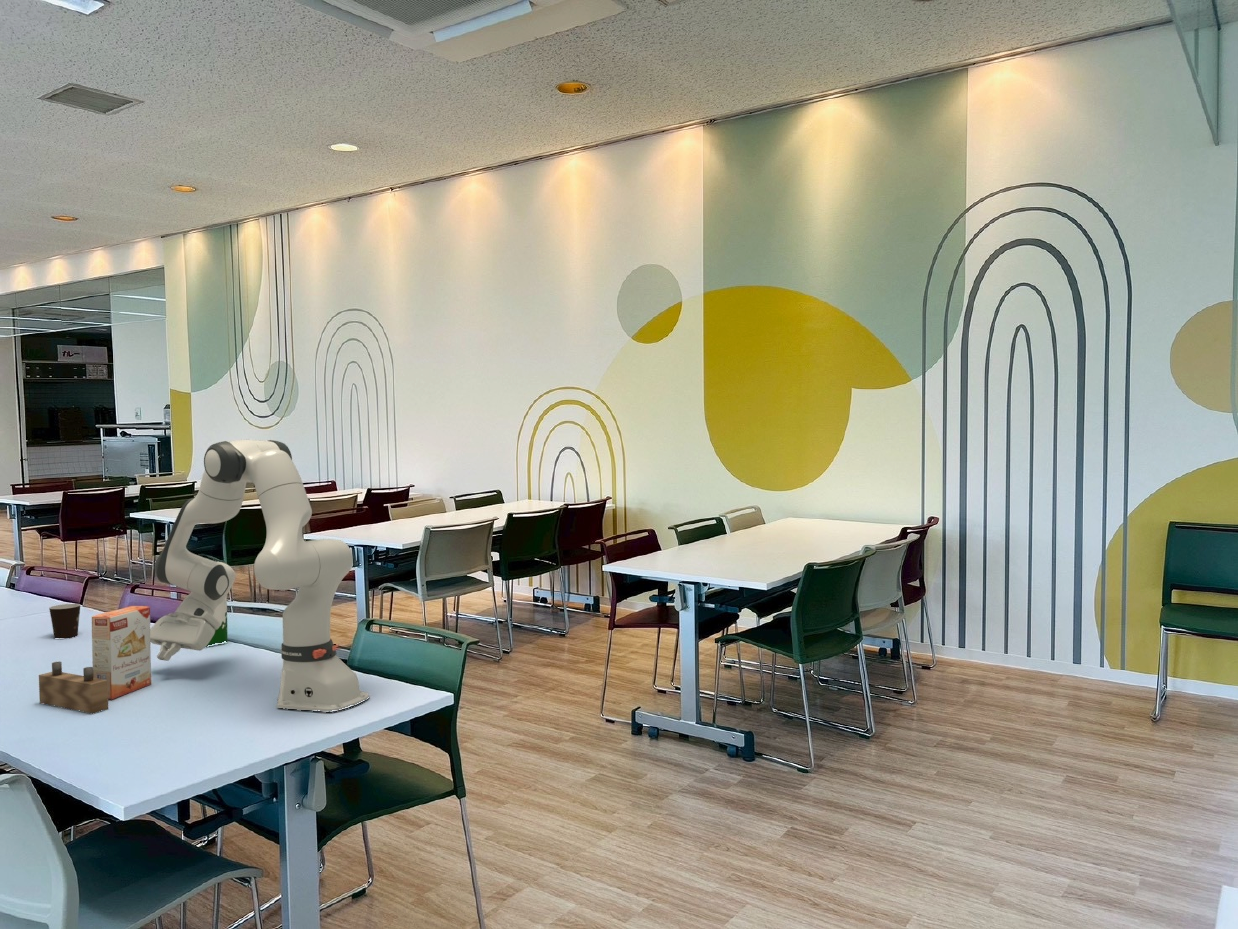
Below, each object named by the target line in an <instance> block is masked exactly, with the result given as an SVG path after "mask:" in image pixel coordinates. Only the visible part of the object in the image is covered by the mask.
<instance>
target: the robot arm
mask: <svg viewBox="0 0 1238 929" xmlns="http://www.w3.org/2000/svg"><path fill="white" fill-rule="evenodd" d="M203 467H204V471H203V474H202V477H201V480H200V484H199V490H198V493H197V494H196V495H195V497H192V498H189V499H187V500H186V501H185V503H184V504H182V506H181V508H180V510H179V511H178V515H177V516H176V519H175V521H174V523H173V526H172V527H171V530H170V532H169V535H168V537H167V540H166V542H165V545H164V547H163V549H162V550H161V552H160V553H159V555H158V557H157V559H156V562H155V563H154V572H155V575H156V578H157V579H158V581H159V582H160V583H163V584H167V585H171V586H175V587H178V588H180V589H183V590H185V591H188V592H190V593H189V594H187V595H186V596H185V598H183V600H182V602H181V603H180V604H179V606H177V608H176V610H175V611H174V613H173V612H169V613H168V614H166V615H163V616H161V617H160V618H159V619H158V620H156V622H155V623H154V624H153V626H151V627H150V644H151V643H152V644H153V645H158V646H160V649H159V653H158V654H157V655H156V658H157V659H158V660H160V661H164V662H166V661H167V662H169V661H170V659H171V658H172V657H173V656H175V654H177V653H178V652H180V650H182V649H186V650H193V651H199V652H200V651H202V650H203V649H205V647H206V646H207V645H208V643H209V642H210V640H211V639H212V637H213V636H214V634H215V630H217V629H218V628H219V627H220V625H221V623H220V622H219V621H218V620H217V619H216V618H215V617H214V616H213V615H214V613H215V610H216V608H217V606H218V605H219V604H221V603H222V602H223V600H224V599H225V597H226V596H227V597H228V594H229V592H230V590H231V589H232V587H233V585H234V582H235V580H236V576H237V574H236V572H235V571H234V569H233V568H232V567H231V565H229V564H227V563H225V562H222V561H215V560H212V559H210V558H207V557H203V556H200V555H197V554H195V553H193V552H191V551H189V550H188V548H187V544H188V542H189V539H190V537H191V536H192V532H193V530H194V527H195V526H196V525H197V524H199V525H200V524H209V525H210V524H211V525H212V524H220V523H224V522H227V521H229V520H231V519H233V518H235V517H236V516H237V515H238V514H239V513H240V510H241V509H242V505H243V501H244V498H245V493H246V488H247V487H246V486H247V483H249V484H250V483H251V484H253V486H254V487H255V490H256V491H255V492H256V495H257V498H258V500H259V502H258V503H259V505H260V508H261V511H262V514H263V520H264V522H265V527H266V528H265V529H266V538H265V543H264V545H263V548H262V550H261V551H259V553H258V554H257V557H256V558H255V560H254V563H253V565H254V566H253V572H254V573H253V574H254V575H255V576H254V577H255V579H256V581H257V582H258V583H259V585H260V586H261V587H263V589H267V590H271V591H272V590H273V591H275V590H277V591H288V590H292V589H298V590H297V592H296V593H297V594H296V595H295V597H294V599H293V600H292V601H291V602H290V603H289V604H288V605H287V606H286V607H285V608H284V611H283V613H282V643H281V647H280V648H281V649H280V652H281V653H280V654H281V657H280V658H281V659H282V662H283V663H282V669H281V673H280V674H281V675H280V687H279V693H278V697H277V699H276V700H277V701H278V702H277V701H276V702H277V706H276V709H278V708H283V709H282V710H288V709H297V710H296V711H301V710H317V711H318V710H320V711H332V710H339V709H342V708H345V707H348V706H350V705H355V704H357V703H359V702H361V701H363V700H366V699H367V698H368V697H369V698H370V694H369V693H368V692H364V691H361V690H360V685H359V678H358V676H357V674H356V672H354V671H353V669H351V668H350V667H349V666H348V665H346V663H344V662H343V661H342V659H341V658H340V657H338V656H337V650H340V644H337V645H334V642H333V639H332V638H331V616H332V614H331V613H332V612H331V611H332V606H333V601H334V598H335V595H336V592H337V589H338V588H339V586H340V584H341V583H342V580H343V579H344V578H345V577H346V576H347V575H348V574H349V572H350V571H351V569H352V566H353V554H352V550H351V548H350V547H349V545H348V544H347V543H346V542H344V541H343V540H340V539H333V538H320V539H313V540H306V541H305V540H304V537H303V528H304V527H305V526H306V525H307V524H308V523H309V521H310V519H311V517H312V514H313V510H312V506H311V504H310V501H309V498H308V495H307V490H306V489H305V486H304V483H303V480H302V477H301V475H300V473H299V471H298V469H297V467H296V465H295V463H294V460H293V455H292V453H291V450H290V448H289V446H288V445H286V443H284V442H282V441H279V440H274V439H273V440H272V439H270V440H268V439H267V440H263V439H262V440H261V439H260V440H259V439H258V440H257V439H237V440H231V441H227V440H224V441H219V442H216V443H215V442H214V443H212V444H211V445H209V446H208V447H207V449H206V452H205V453H204V457H203ZM285 708H287V709H285Z"/></svg>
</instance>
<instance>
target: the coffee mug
mask: <svg viewBox="0 0 1238 929" xmlns="http://www.w3.org/2000/svg"><path fill="white" fill-rule="evenodd" d="M80 613H81V604H80V603H64V604H63V603H62V604H56V605H52V606H49V615H50V619H51V626H52V632H53V638H54V639H55V638H69V639H73V638H72V637H74V638H76V637H75V636H77V635H78V634H79V633H78V632H79V624H80ZM77 637H78V636H77Z"/></svg>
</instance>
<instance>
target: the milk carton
mask: <svg viewBox="0 0 1238 929" xmlns="http://www.w3.org/2000/svg"><path fill="white" fill-rule="evenodd" d="M227 600H228V595H227V596H226V597H225V599H224V600H223V602H222V603H221V604H219V605H218V606H217V608H216V610H215V613H214V615H213V616H214V617H215V618H216V619H217V620H218V621H219V622H220V623H221V625H220V627H219V628H218V629H217V630H215V634H214V636H213V637H212V639H211V640H210V642H209V643H208V645H212V644H215V643H222V642H224V641H226V642H228V641H229V640H228V602H227ZM208 645H207V646H208Z"/></svg>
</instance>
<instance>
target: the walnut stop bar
mask: <svg viewBox="0 0 1238 929" xmlns="http://www.w3.org/2000/svg"><path fill="white" fill-rule="evenodd" d="M62 669H63V667H62V661H54V662H51V671H50V672H45V673H41V674H39V675H38V692H39V693H38V694H39V696H38V697H39V704H41V703H44V704H43V705H46V704H48V705H47V706H51V705H55V706H54V707H56V706H59V707H58V708H61V707H62V709H66V708H67V709H66V710H71V709H72V710H71V711H75V710H80V711H84V712H83V713H85V712H87V713H86V714H90V713H92V714H91V715H94V714H96V712H97V713H100V712H102V711H101V710H104V711H106V710H109V699H108V681H107V680H104V679H98V678H93V666H86V667H83V668H82V670H83V675H79V674H75V673H69V672H63V670H62ZM80 711H79V712H80ZM99 711H100V712H99ZM93 713H94V714H93Z"/></svg>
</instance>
